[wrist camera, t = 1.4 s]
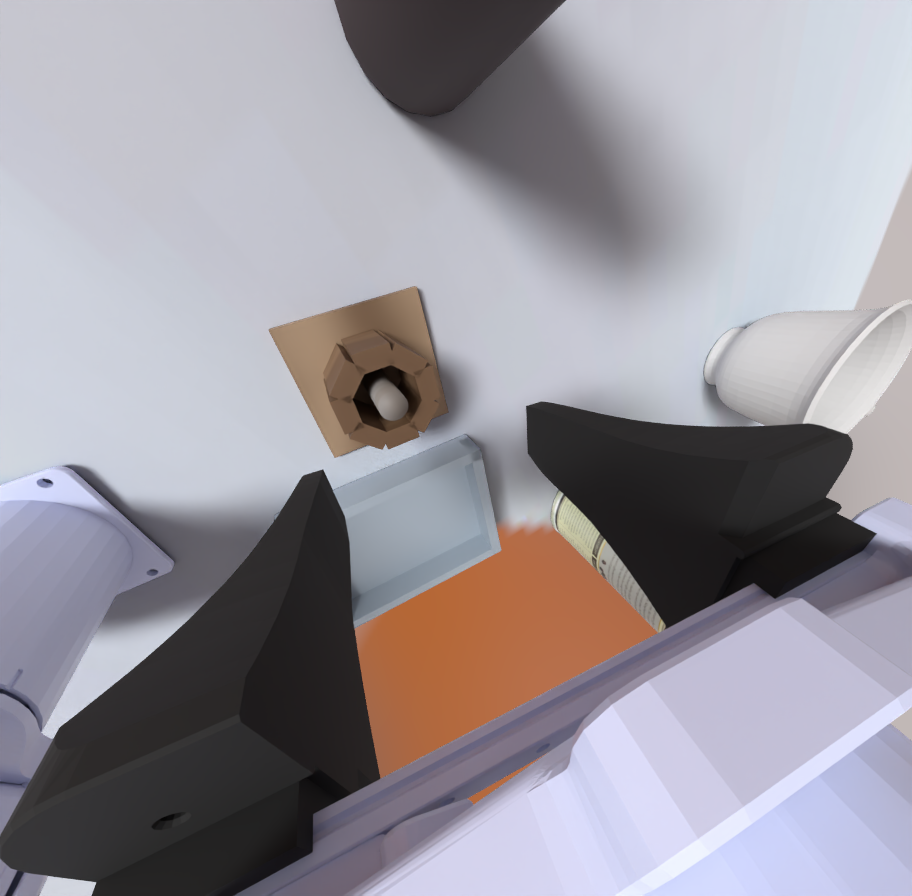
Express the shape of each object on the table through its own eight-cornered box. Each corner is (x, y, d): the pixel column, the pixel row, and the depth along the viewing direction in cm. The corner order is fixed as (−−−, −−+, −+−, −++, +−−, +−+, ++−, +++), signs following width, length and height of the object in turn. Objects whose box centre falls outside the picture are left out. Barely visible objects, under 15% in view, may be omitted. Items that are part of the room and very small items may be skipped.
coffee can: (591, 440, 31) (765, 541, 19) (641, 470, 36) (797, 562, 25) (531, 526, 33) (656, 661, 22) (587, 542, 39) (708, 655, 27)
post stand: (334, 454, 21) (344, 503, 17) (269, 328, 17) (260, 351, 12) (445, 409, 23) (481, 443, 18) (414, 286, 18) (452, 292, 14)
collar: (347, 431, 20) (357, 461, 17) (309, 349, 17) (312, 367, 14) (424, 401, 21) (447, 425, 18) (400, 320, 19) (423, 331, 15)
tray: (342, 606, 27) (345, 633, 25) (274, 514, 21) (272, 540, 19) (487, 531, 31) (501, 550, 29) (465, 434, 24) (480, 449, 22)
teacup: (721, 430, 40) (829, 471, 31) (660, 393, 32) (785, 436, 24) (789, 333, 36) (931, 352, 28) (741, 265, 28) (918, 265, 20)
